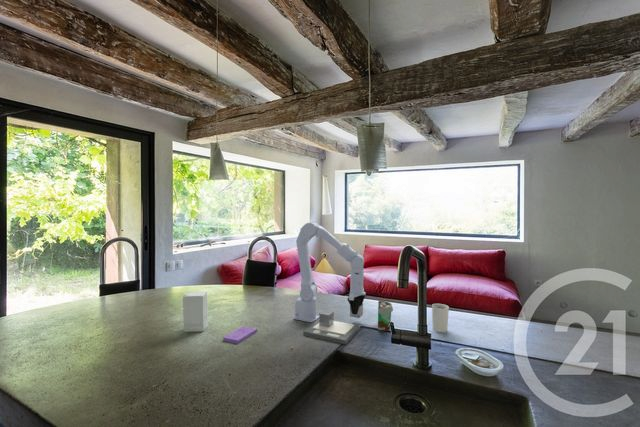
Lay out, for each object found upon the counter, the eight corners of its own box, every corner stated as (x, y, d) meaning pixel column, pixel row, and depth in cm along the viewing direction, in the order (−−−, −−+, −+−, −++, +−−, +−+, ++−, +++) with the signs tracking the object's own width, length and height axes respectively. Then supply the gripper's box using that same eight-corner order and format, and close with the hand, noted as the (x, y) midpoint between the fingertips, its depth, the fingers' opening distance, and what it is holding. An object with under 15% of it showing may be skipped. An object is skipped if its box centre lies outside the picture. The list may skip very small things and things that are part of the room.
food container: (393, 334, 124) (393, 309, 124) (377, 332, 125) (378, 308, 125) (392, 323, 136) (392, 300, 136) (378, 322, 138) (378, 299, 137)
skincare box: (208, 326, 130) (208, 291, 130) (203, 332, 124) (203, 295, 124) (188, 326, 129) (188, 291, 129) (182, 332, 123) (182, 295, 123)
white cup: (450, 333, 126) (450, 309, 125) (432, 332, 127) (433, 307, 127) (446, 327, 132) (447, 304, 132) (430, 326, 133) (430, 303, 133)
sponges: (222, 341, 116) (222, 336, 116) (243, 329, 128) (243, 325, 128) (238, 345, 114) (238, 340, 114) (257, 332, 125) (257, 328, 125)
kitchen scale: (303, 335, 122) (303, 330, 122) (321, 321, 137) (321, 317, 137) (345, 344, 114) (345, 339, 114) (359, 329, 129) (359, 324, 129)
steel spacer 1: (319, 325, 127) (319, 313, 127) (323, 321, 131) (324, 310, 131) (329, 327, 125) (329, 315, 125) (333, 323, 129) (333, 311, 129)
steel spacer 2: (349, 316, 136) (350, 305, 136) (353, 313, 140) (353, 302, 140) (359, 318, 134) (359, 306, 134) (362, 314, 138) (363, 303, 138)
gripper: (360, 286, 128) (359, 319, 128) (370, 279, 141) (370, 309, 141) (344, 284, 131) (343, 316, 131) (356, 277, 144) (355, 306, 144)
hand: (356, 312), depth 137 cm, fingers closed on steel spacer 2, 4 cm apart
